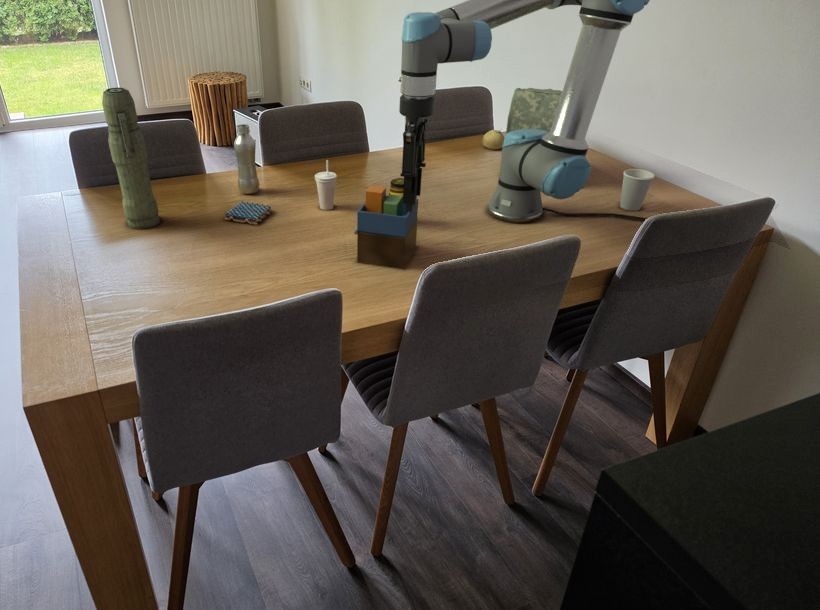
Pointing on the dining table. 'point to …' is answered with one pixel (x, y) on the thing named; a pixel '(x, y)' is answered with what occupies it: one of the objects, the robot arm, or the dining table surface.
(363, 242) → the stand
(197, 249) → the dining table surface
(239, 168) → the plastic bottle
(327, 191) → the smoothie
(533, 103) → the lunch bag
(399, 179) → the condiment
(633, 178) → the dixie cup
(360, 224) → the blue open box
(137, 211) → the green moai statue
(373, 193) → the orange rectangular block
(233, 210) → the woven mat
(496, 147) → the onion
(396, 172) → the dining table surface
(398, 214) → the green square block
